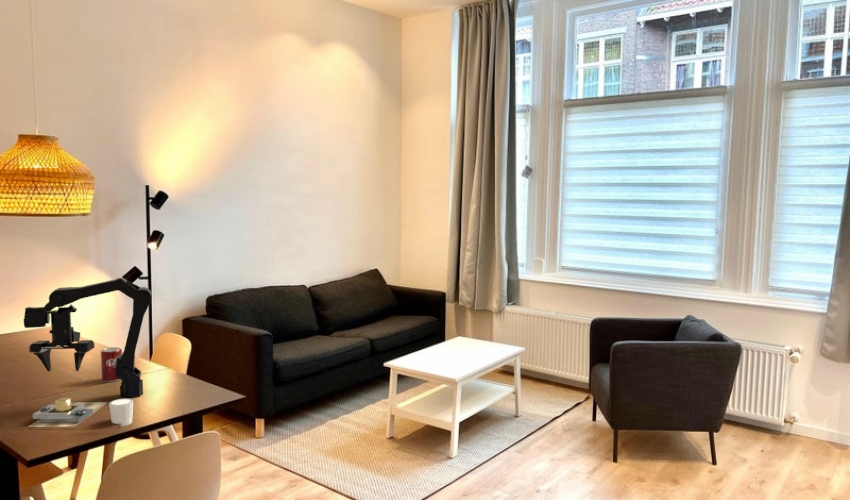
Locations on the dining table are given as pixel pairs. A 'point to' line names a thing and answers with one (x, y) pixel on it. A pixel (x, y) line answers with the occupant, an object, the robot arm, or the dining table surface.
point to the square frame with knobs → (62, 414)
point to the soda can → (109, 363)
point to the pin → (63, 405)
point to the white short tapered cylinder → (121, 411)
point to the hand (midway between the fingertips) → (63, 371)
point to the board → (88, 405)
